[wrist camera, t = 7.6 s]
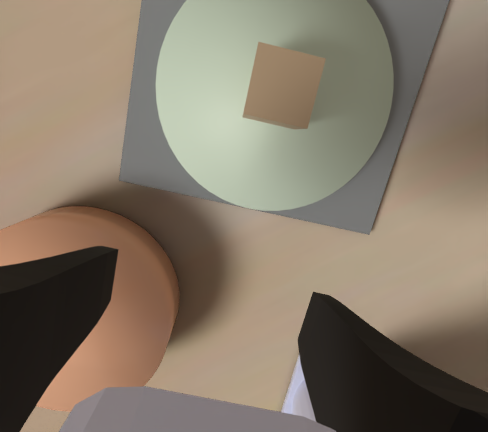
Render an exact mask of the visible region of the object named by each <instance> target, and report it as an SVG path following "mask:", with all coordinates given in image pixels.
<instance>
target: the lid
mask: <svg viewBox="0 0 488 432" xmlns="http://www.w3.org/2000/svg"><path fill="white" fill-rule="evenodd" d="M393 85H394V73H393V64H392V56H391V52H390V48H389V44H388V40H387V37H386V35H385V32H384V30H383V27H382V25H381V23H380V21H379V19H378V17H377V15H376V14H375V12H374V10H373V9H372V7H371V6H370V5H369V3H368V2H367V1H366V0H186V2H185V3H184V4H183V5H182V7H181V8H180V10H179V11H178V13H177V14H176V16H175V17H174V19H173V21H172V23H171V25H170V27H169V29H168V31H167V33H166V35H165V38H164V41H163V44H162V47H161V50H160V55H159V59H158V64H157V72H156V102H157V108H158V114H159V119H160V122H161V125H162V129H163V132H164V134H165V137H166V139H167V141H168V144H169V146H170V148H171V149H172V151H173V153H174V155H175V156H176V158H177V160H178V161H179V162H180V164H181V165H182V166H183V167H184V169H185V170H186V171H187V172H188V173H189V174H190V175H191V176H192V177H193V178H194V179H195V180H196V181H197V182H198V183H199V184H200V185H201V186H203V187H204V188H205V189H207V190H208V191H209V192H211V193H212V194H214V195H216V196H218V197H219V198H221V199H223V200H225V201H228V202H230V203H232V204H235V205H238V206H242V207H245V208H249V209H255V210H262V211H280V210H289V209H295V208H299V207H303V206H306V205H309V204H312V203H314V202H317V201H319V200H321V199H323V198H325V197H327V196H329V195H331V194H332V193H334V192H335V191H337V190H338V189H340V188H341V187H343V186H344V185H345V184H346V183H347V182H348V181H350V180H351V179H352V178H353V177H354V176H355V175H356V174H357V173H358V172H359V171H360V169H361V168H362V167H363V166H364V165H365V164H366V162H367V161H368V159H369V158H370V156H371V155H372V154H373V152H374V151H375V149H376V147H377V145H378V143H379V141H380V139H381V137H382V135H383V132H384V130H385V127H386V124H387V121H388V118H389V114H390V110H391V105H392V98H393Z"/></svg>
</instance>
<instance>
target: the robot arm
mask: <svg viewBox="0 0 488 432" xmlns="http://www.w3.org/2000/svg"><path fill="white" fill-rule="evenodd" d="M118 250H119V249H114V248H110V247H105V246H94V247H89V248H85V249H80V250H76V251H72V252H68V253H64V254H60V255H56V256H52V257H47V258H42V259H38V260H33V261H28V262H23V263H18V264H12V265H5V266H0V432H20V430H21V428H22V427H23V425H24V423H25V422H26V420H27V419H28V417H29V415H30V414H31V412H32V411H33V409H34V408H35V406H36V405H37V403H38V401H39V400H40V398H41V397H42V395H43V394H44V392H45V391H46V389H47V388H48V386H49V385H50V383H51V382H52V381H53V379H54V378H55V377H56V375H57V374H58V373H59V371H60V370H61V369H62V368H63V366H64V365H65V364H66V363H67V361H68V360H69V359H70V358H71V356H72V355H73V354H74V353H75V351H76V350H77V349H78V348H79V346H80V345H81V344H82V343H83V341H84V340H85V339H86V337H87V336H88V335H89V334H90V332H91V331H92V330H93V328H94V327H95V326H96V325H97V323H98V322H99V320H100V318H101V317H102V315H103V313H104V312H105V310H106V308H107V306H108V304H109V303H110V301H111V296H112V289H113V283H114V276H115V270H116V263H117V257H118ZM298 346H299V356H298V359H297V363H296V366H295V369H294V372H293V375H292V379H291V382H290V385H289V388H288V391H287V394H286V398H285V401H284V404H283V407H282V410H281V412H278V411H272V410H267V409H262V408H256V407H251V406H246V405H241V404H235V403H230V402H225V401H220V400H214V399H209V398H204V397H199V396H193V395H188V394H183V393H177V392H172V391H167V390H162V389H156V388H151V387H146V386H142V387H107V388H104V389H103V390H101V391H99V392H97V393H95V394H94V395H92V396H90V397H88V398H86V399H84V400H83V401H81V402H79V403H77V404H75V406H74V408H73V409H72V411H71V412H70V414H69V416H68V417H67V419H66V421H65V422H64V424H63V426H62V427H61V429H60V430H59V432H488V393H487V392H485V391H483V390H481V389H478V388H476V387H474V386H472V385H470V384H468V383H465V382H463V381H461V380H459V379H457V378H455V377H453V376H451V375H449V374H447V373H445V372H444V371H442V370H440V369H438V368H436V367H434V366H432V365H430V364H429V363H427V362H425V361H423V360H422V359H420V358H418V357H417V356H415V355H413V354H412V353H410V352H408V351H407V350H405V349H403V348H402V347H400V346H399V345H397V344H396V343H394V342H393V341H391V340H390V339H389V338H387V337H386V336H384V335H383V334H381V333H380V332H379V331H377V330H376V329H375V328H373V327H372V326H371V325H369V324H368V323H367V322H365V321H364V320H363V319H361V318H360V317H359V316H357V315H356V314H355V313H354V312H352V311H351V310H350V309H348V308H347V307H346V306H345V305H343V304H342V303H340V302H339V301H338V300H336V299H335V298H333V297H331V296H329V295H325V294H321V293H316V292H313V294H312V297H311V300H310V303H309V306H308V309H307V312H306V315H305V319H304V322H303V325H302V328H301V331H300V334H299V337H298Z"/></svg>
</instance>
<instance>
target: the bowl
mask: <svg viewBox="0 0 488 432" xmlns="http://www.w3.org/2000/svg"><path fill="white" fill-rule="evenodd" d="M94 246H105V247H110V248H114V249H119V250H118V257H117V263H116V270H115V276H114V283H113V289H112V296H111V301H110V303H109V304H108V306H107V308H106V310H105V312H104V313H103V315H102V317H101V318H100V320H99V322H98V323H97V325H96V326H95V327H94V328H93V330H92V331H91V332H90V334H89V335H88V336H87V337H86V339H85V340H84V341H83V343H82V344H81V345H80V346H79V348H78V349H77V350H76V351H75V353H74V354H73V355H72V356H71V358H70V359H69V360H68V361H67V363H66V364H65V365H64V366H63V368H62V369H61V370H60V371H59V373H58V374H57V375H56V377H55V378H54V379H53V381H52V382H51V383H50V385H49V386H48V388H47V389H46V391H45V392H44V394H43V395H42V397H41V398H40V400H39V401H38V403H37V405H36V406H38V407H42V408H47V409H51V410H59V411H72V409H73V408H74V406H75V404H77V403H79V402H81V401H83V400H84V399H86V398H88V397H90V396H92V395H94V394H95V393H97V392H99V391H101V390H103V389H104V388H107V387H142V386H144V385H145V384H146V383H147V382H148V381H149V380H150V378H151V377H152V376H153V375H154V373H155V372H156V370H157V369H158V367H159V365H160V363H161V361H162V359H163V356H164V354H165V351H166V348H167V345H168V342H169V339H170V336H171V333H172V330H173V327H174V324H175V321H176V317H177V314H178V309H179V301H180V299H179V286H178V280H177V277H176V273H175V270H174V268H173V266H172V264H171V261H170V259H169V258H168V256H167V254H166V253H165V251H164V250H163V248H162V247H161V246H160V245H159V244H158V242H157V241H156V240H155V239H154V238H153V237H152V236H151V235H150V234H149V233H148V232H147V231H145V230H144V229H143V228H141V227H140V226H139V225H137V224H136V223H134V222H132V221H131V220H129V219H127V218H125V217H123V216H121V215H118V214H116V213H113V212H111V211H107V210H103V209H100V208H94V207H87V206H69V207H60V208H56V209H52V210H48V211H46V212H43V213H41V214H38V215H36V216H33V217H31V218H28V219H26V220H24V221H21V222H19V223H16V224H14V225H11V226H9V227H6V228H4V229H2V230H0V266H5V265H12V264H18V263H23V262H28V261H33V260H38V259H42V258H47V257H52V256H56V255H60V254H64V253H68V252H72V251H76V250H80V249H85V248H89V247H94Z"/></svg>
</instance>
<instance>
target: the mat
mask: <svg viewBox="0 0 488 432" xmlns="http://www.w3.org/2000/svg"><path fill="white" fill-rule="evenodd" d="M366 1H367V2H368V3H369V5H370V6H371V7H372V9H373V10H374V12H375V14H376V15H377V17H378V19H379V21H380V23H381V25H382V27H383V30H384V32H385V35H386V37H387V40H388V44H389V48H390V52H391V56H392V64H393V73H394V85H393V98H392V105H391V110H390V114H389V118H388V121H387V124H386V127H385V130H384V132H383V135H382V137H381V139H380V141H379V143H378V145H377V147H376V149H375V151H374V152H373V154H372V155H371V156H370V158H369V159H368V161H367V162H366V164H365V165H364V166H363V167H362V168H361V169H360V171H359V172H358V173H357V174H356V175H355V176H354V177H353V178H352V179H351V180H350V181H348V182H347V183H346V184H345V185H344V186H343V187H341V188H340V189H338V190H337V191H335V192H334V193H332V194H331V195H329V196H327V197H325V198H323V199H321V200H319V201H317V202H314V203H312V204H309V205H306V206H303V207H299V208H295V209H289V210H280V211H262V210H258V211H262V212H267V213H271V214H276V215H281V216H285V217H290V218H294V219H299V220H304V221H308V222H313V223H318V224H322V225H327V226H331V227H336V228H341V229H345V230H350V231H355V232H359V233H364V234H368V235H369V234H370V231H371V229H372V226H373V223H374V220H375V217H376V214H377V211H378V208H379V205H380V202H381V199H382V196H383V193H384V190H385V187H386V185H387V182H388V179H389V176H390V173H391V170H392V167H393V164H394V161H395V158H396V155H397V152H398V149H399V146H400V143H401V141H402V138H403V135H404V132H405V129H406V126H407V123H408V120H409V117H410V114H411V111H412V108H413V105H414V102H415V100H416V97H417V94H418V91H419V88H420V85H421V82H422V79H423V76H424V73H425V70H426V67H427V64H428V61H429V58H430V56H431V53H432V50H433V47H434V44H435V41H436V38H437V35H438V32H439V29H440V26H441V23H442V20H443V17H444V14H445V12H446V9H447V6H448V3H449V0H366ZM185 2H186V0H142V2H141V10H140V18H139V26H138V34H137V41H136V49H135V57H134V65H133V73H132V81H131V89H130V97H129V105H128V112H127V120H126V128H125V136H124V144H123V152H122V160H121V168H120V176H119V181H124V182H128V183H133V184H137V185H142V186H147V187H151V188H156V189H161V190H165V191H170V192H174V193H179V194H184V195H188V196H193V197H197V198H202V199H207V200H211V201H216V202H221V203H225V204H230V205H234V206H238V205H235V204H232V203H230V202H228V201H225V200H223V199H221V198H219V197H218V196H216V195H214V194H212V193H211V192H209V191H208V190H207V189H205V188H204V187H203V186H201V185H200V184H199V183H198V182H197V181H196V180H195V179H194V178H193V177H192V176H191V175H190V174H189V173H188V172H187V171H186V170H185V169H184V167H183V166H182V165H181V164H180V162H179V161H178V160H177V158H176V156H175V155H174V153H173V151H172V149H171V148H170V146H169V144H168V141H167V139H166V137H165V134H164V132H163V129H162V125H161V122H160V119H159V114H158V108H157V102H156V72H157V64H158V59H159V55H160V50H161V47H162V44H163V41H164V38H165V35H166V33H167V31H168V29H169V27H170V25H171V23H172V21H173V19H174V17H175V16H176V14H177V13H178V11H179V10H180V8H181V7H182V5H183V4H184V3H185ZM239 207H242V206H239ZM244 208H245V207H244ZM248 209H249V208H248ZM253 210H255V209H253Z"/></svg>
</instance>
